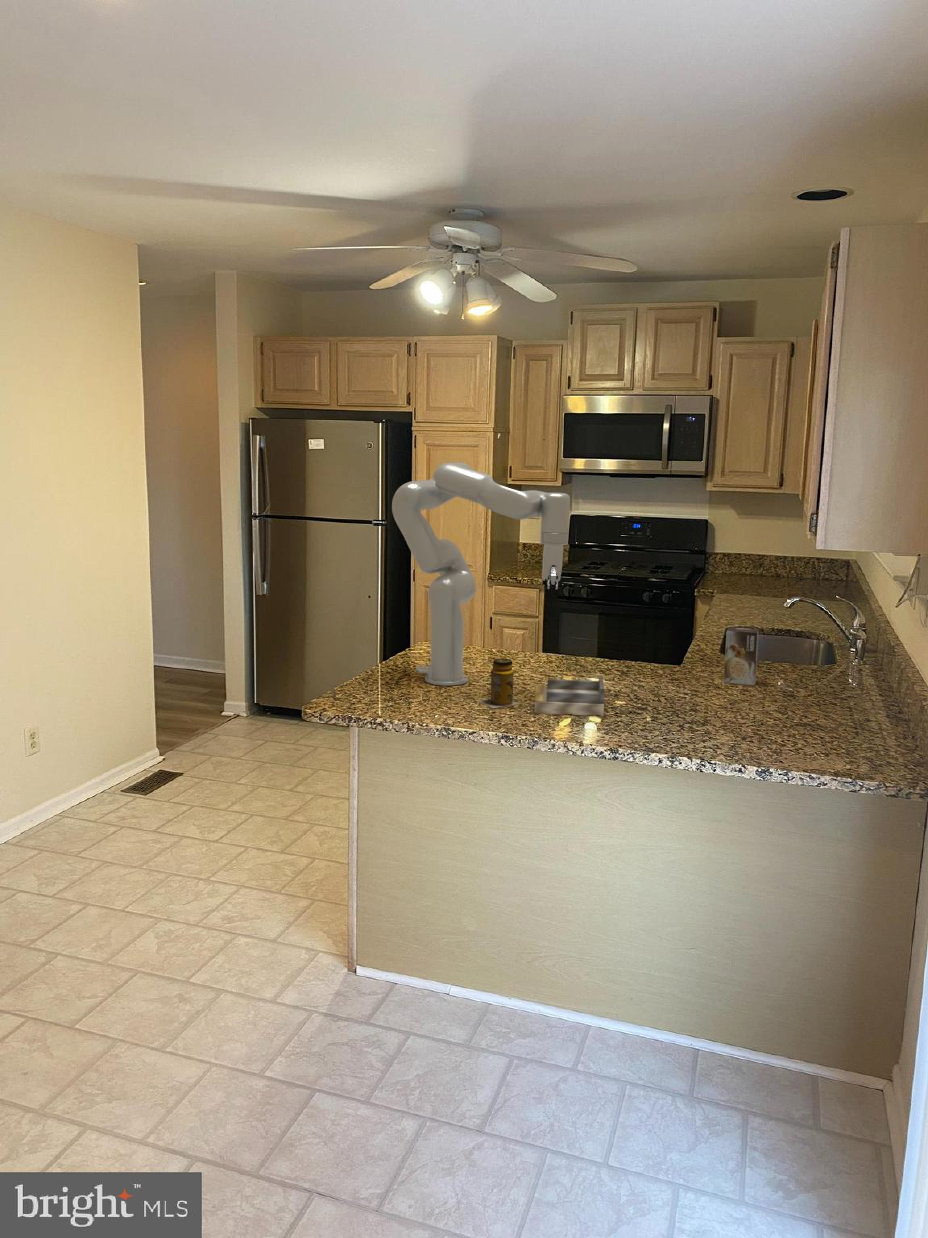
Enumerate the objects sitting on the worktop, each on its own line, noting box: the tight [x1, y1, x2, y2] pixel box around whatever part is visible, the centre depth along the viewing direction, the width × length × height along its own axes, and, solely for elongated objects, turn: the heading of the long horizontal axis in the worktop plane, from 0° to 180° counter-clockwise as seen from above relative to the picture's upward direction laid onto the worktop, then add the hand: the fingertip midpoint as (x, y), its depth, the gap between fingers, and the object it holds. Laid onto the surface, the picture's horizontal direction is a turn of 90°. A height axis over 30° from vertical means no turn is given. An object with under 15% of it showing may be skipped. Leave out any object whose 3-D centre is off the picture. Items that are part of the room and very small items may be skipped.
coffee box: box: [723, 626, 760, 686], centre depth 277 cm, size 9×6×16 cm
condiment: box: [478, 657, 519, 709], centre depth 252 cm, size 7×8×12 cm
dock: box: [533, 675, 605, 717], centre depth 250 cm, size 18×16×7 cm
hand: (551, 600), depth 256 cm, fingers open, 9 cm apart
